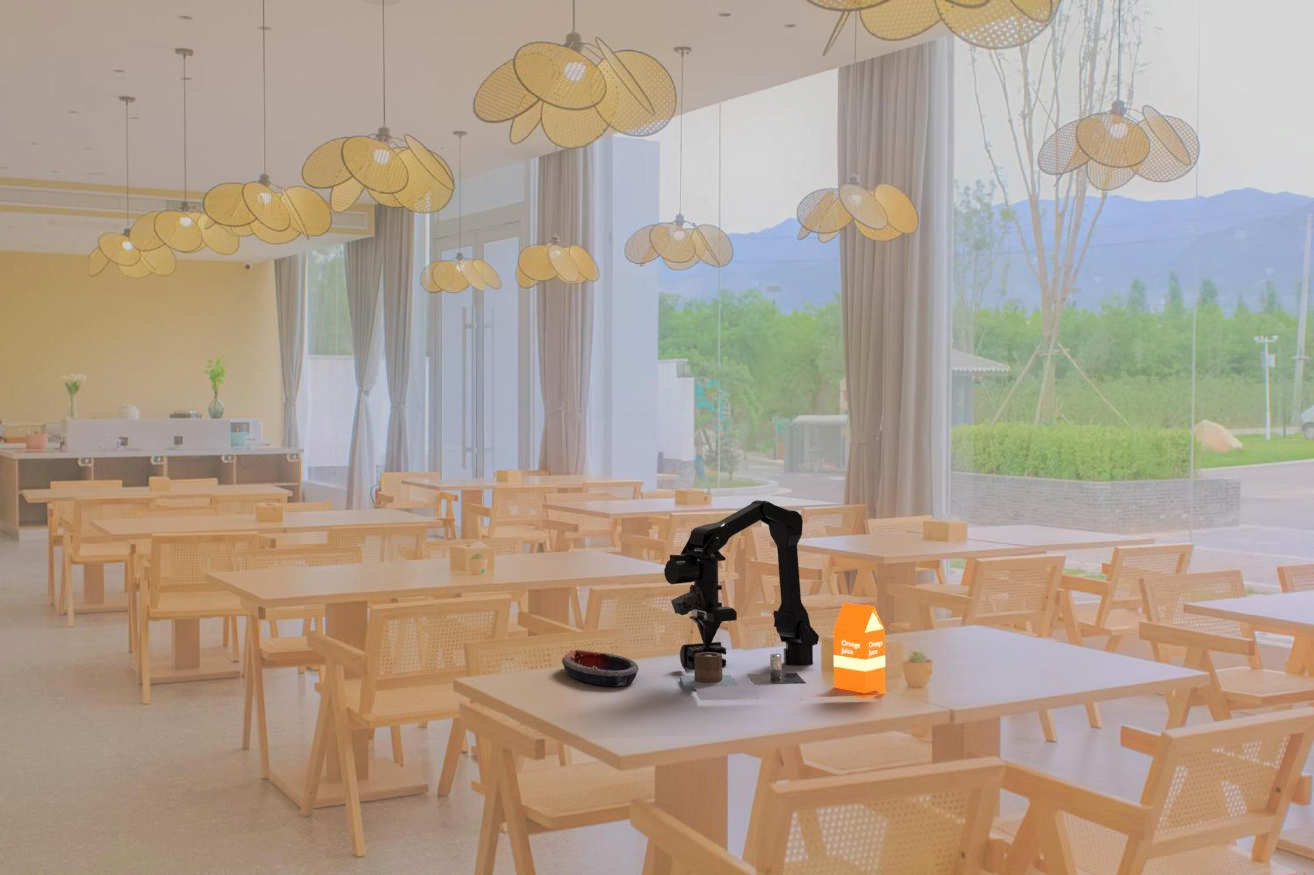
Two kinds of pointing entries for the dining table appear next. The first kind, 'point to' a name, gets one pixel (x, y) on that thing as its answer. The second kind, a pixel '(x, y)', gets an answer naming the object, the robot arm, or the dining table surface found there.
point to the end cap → (691, 649)
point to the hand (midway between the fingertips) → (706, 647)
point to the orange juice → (859, 650)
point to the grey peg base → (690, 682)
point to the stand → (776, 674)
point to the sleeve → (708, 667)
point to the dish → (600, 668)
